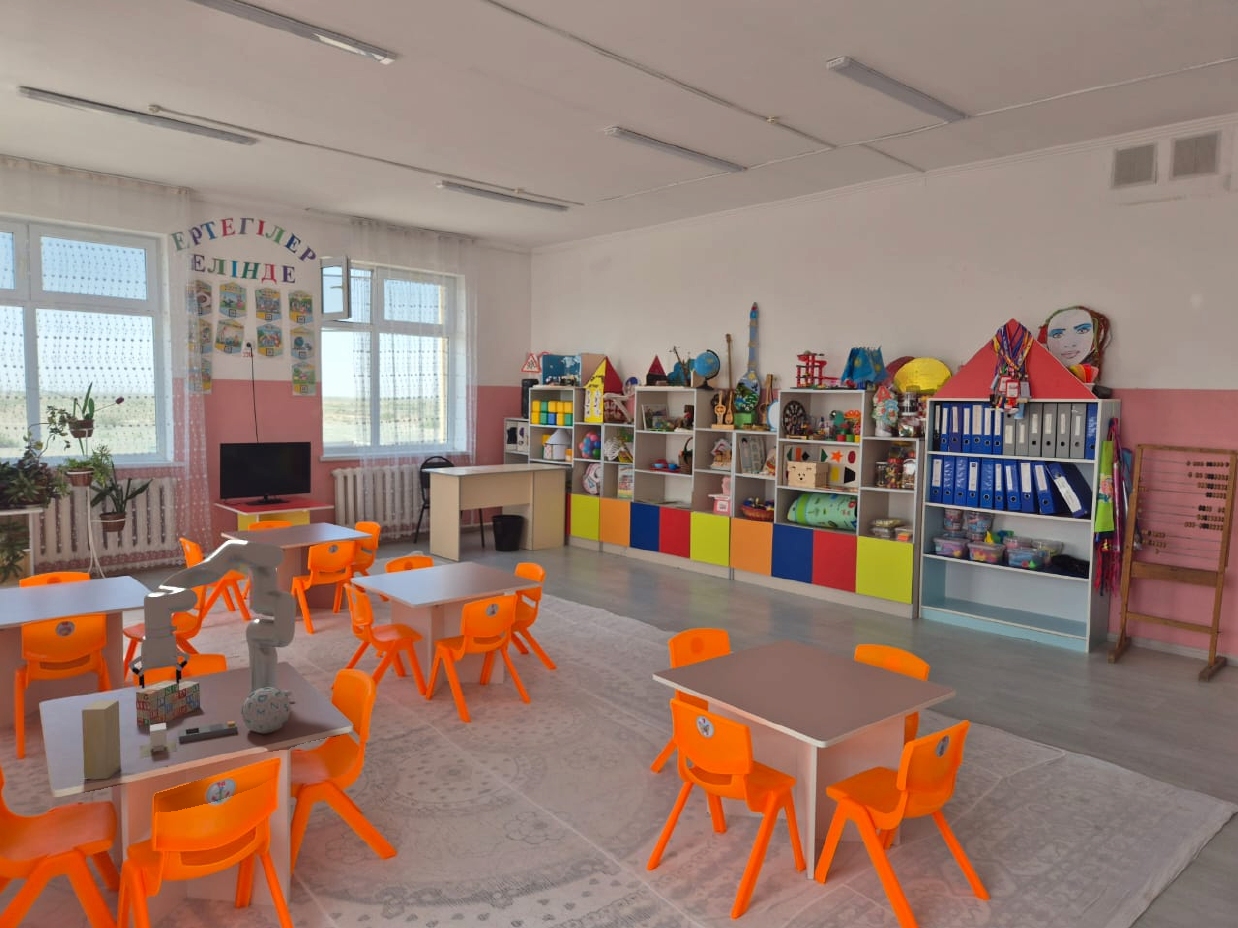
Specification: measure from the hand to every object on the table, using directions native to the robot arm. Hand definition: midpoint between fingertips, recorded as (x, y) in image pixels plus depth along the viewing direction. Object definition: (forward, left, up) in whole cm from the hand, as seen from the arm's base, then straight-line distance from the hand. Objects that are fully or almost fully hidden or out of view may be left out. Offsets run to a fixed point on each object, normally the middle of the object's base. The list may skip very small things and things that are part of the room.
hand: (160, 684), depth 263 cm
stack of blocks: (-3, -30, -21) cm, 37 cm away
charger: (+1, +2, -20) cm, 20 cm away
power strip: (-13, -3, -21) cm, 25 cm away
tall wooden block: (+16, +12, -21) cm, 29 cm away
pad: (+1, +2, -21) cm, 21 cm away
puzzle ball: (-31, +1, -21) cm, 37 cm away
